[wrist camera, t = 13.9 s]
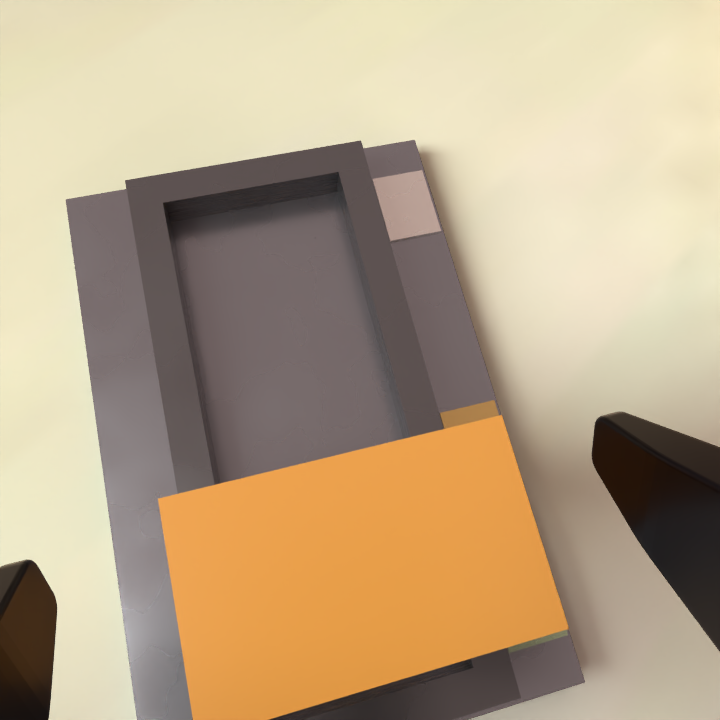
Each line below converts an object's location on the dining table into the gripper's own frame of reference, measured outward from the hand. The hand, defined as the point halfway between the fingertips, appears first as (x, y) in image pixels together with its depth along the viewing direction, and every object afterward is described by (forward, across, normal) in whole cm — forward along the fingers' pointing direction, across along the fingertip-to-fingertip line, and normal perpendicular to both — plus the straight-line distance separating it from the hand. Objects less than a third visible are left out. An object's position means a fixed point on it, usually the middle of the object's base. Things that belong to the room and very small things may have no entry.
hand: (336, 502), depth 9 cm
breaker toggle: (+5, 0, +6) cm, 8 cm away
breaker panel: (+8, 0, +4) cm, 9 cm away
